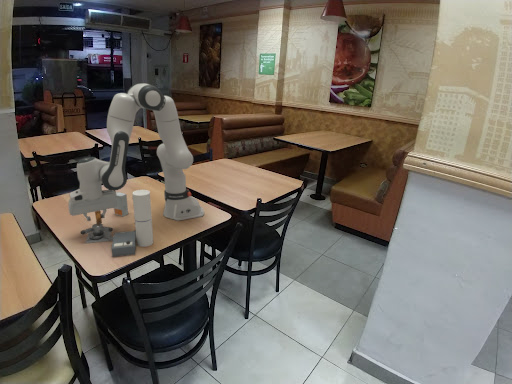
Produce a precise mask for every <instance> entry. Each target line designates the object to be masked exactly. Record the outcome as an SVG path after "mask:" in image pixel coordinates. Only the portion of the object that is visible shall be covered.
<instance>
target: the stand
mask: <svg viewBox="0 0 512 384" xmlns="http://www.w3.org/2000/svg"><path fill="white" fill-rule="evenodd" d="M90 233H92V232H90ZM90 233H87V236H86V239H85V241H84V244H93V243H105V242H110V241H111V242H112V245H111V249H110V251H111V255H112V258H114V257H116V258H117V257H122V256H132V255H136V247H137V239H136V230H132V231H131V230H129V231H120V232H114V234H113V235H112V232H109V231H104V237H103V238H100V239H96V240H93V239H90V238H89V234H90Z"/></svg>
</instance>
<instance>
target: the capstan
mask: <svg viewBox="0 0 512 384" xmlns="http://www.w3.org/2000/svg"><path fill="white" fill-rule="evenodd" d="M101 211H102V210H100V211H95V212H94V214H95V221H96V223H94V224H92V226H91V227H89V228H86V229H83V230H81V231H80V235H82V236H83V235H86V234H87V235H88V233H90V232H92V233H90V234H89V238H90V239H93V240H96V239H100V238H103V237H104V231H109V232H111V233H112V232H113V231H114V229H113V227H110V226H104V224H103V218H101V214H102V212H101Z"/></svg>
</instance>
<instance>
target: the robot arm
mask: <svg viewBox="0 0 512 384" xmlns="http://www.w3.org/2000/svg"><path fill="white" fill-rule="evenodd" d="M140 109H146V110H149V111H152V112H153V115H154V118H155V119H154V120H155V122H156V128H157V132H158V136H159V139H160V140H161V141H162V143H161V144H159V145H158V147H156V148H157V149H156V156H157V157H158V159H159V162H160V166H161V169H162V173H163V177H164V193H163V194H164V208H163V217H166V218H168V219H170V220H171V219H172V220H173V221H176V222H177V221H184V220H188V219H189V220H190V219H195V218H201V217H203V216H204V215H205V210H204V208H203V207H202V206H201V204H200V202H199V201H198V199H196V198H195V197H193V196H192V193H191V191H190V190H189V188H187V181H186V180H187V178H186V174H185V172H184V170H189V168H190V167H191V166H192V165H193V162H194V156H193V154H192V152H191V151H190V149H189V148H188V146H187V143H186V141H185V139H184V136H183V133H182V130H181V125H180V120H179V119H180V118H179V115H178V114H179V113H178V109H177V108H176V104H175V101H174V99H173V98H172V97H170V96H168V95H163V93H162V91H161V90H160V89H159V88H158V87H157V86H154V85H153V84H149V83H144V82H143V83H142V82H141V83H140V82H139V83H134V84H133V85H131V86H130V87H129V88H128V90H126V92H120V93H116V94H114V95H113V98H112V100H111V103H110V106H109V108H108V111H107V112H108V113H107V118H106V131H107V133H108V136H109V139H110V142H111V153H110V157H109V161H105V160H101V159H98V158H96V157H94V156H87V157H83V158H81V159H79V160H78V162H77V163H76V173H77V180H78V182H79V188H78V189H76V190H74V191H71V192H70V193H69V200H68V212H69V215H71V216H72V217H74V216H79V215H83V217H85V218H86V222H91V221H92V219H91V216H89V215H88V214H89V213H95V211H102V212H101V218H102V219H105V217H106V216H105V215H106V213H107V210H110V209H114V208H115V207H117V200H116V193H117V191H119V190H121V189H123V188H124V187H125V186H126V184H127V181H128V176H127V173H126V163H127V156H128V151H129V144H130V141H131V140H130V139H131V135H132V132H133V128H134V125H135V121H136V120H135V119H136V115H137V112H138V111H139V110H140ZM102 186H103V187H104V188H105V189H103V187H102Z"/></svg>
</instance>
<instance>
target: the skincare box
mask: <svg viewBox="0 0 512 384" xmlns="http://www.w3.org/2000/svg"><path fill="white" fill-rule="evenodd" d="M127 195H128V194H127V193H123V192H119V191H116V200H117V207H115V208H113V213H114V215H115V216H121V217H125V216H127V215H128V214H129V210H128V209H129V208H128V207H129V206H128V197H127Z"/></svg>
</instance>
